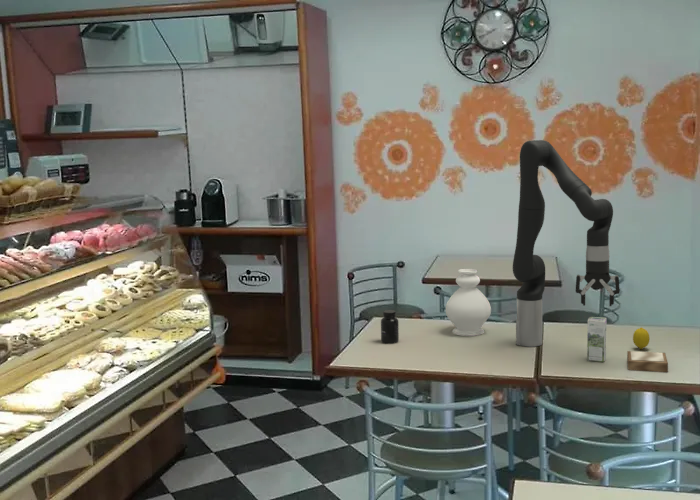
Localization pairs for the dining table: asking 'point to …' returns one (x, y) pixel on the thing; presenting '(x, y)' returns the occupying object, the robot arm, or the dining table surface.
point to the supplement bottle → (389, 327)
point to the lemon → (641, 338)
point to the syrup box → (596, 339)
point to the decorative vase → (468, 305)
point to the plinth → (647, 361)
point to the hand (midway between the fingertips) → (597, 305)
